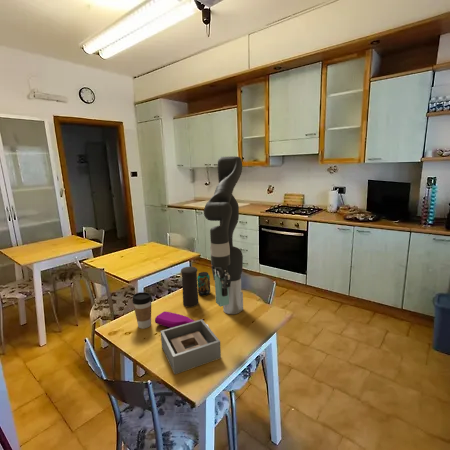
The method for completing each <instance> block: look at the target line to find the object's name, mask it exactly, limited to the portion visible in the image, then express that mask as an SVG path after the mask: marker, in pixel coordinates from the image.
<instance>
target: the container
mask: <svg viewBox="0 0 450 450" xmlns="http://www.w3.org/2000/svg"><path fill="white" fill-rule="evenodd" d="M180 274H181V284H182V286H181V287H182V304H183V306H184V307H186V308H193V307H196V306H198V305H199V302H200V301H199V293H198V280H197V277H198V268H197V267H196V266H185V267H183V268H181V269H180Z"/></svg>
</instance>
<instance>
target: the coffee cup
mask: <svg viewBox="0 0 450 450" xmlns="http://www.w3.org/2000/svg"><path fill="white" fill-rule="evenodd" d="M132 304H133V309H134V314H135V318H136V322H137V327H138V328H139V329H142V330H143V329H147V328H149V327H150V326H151V325H152V295H151V293H149V292H145V291H143V292H136V293H134V294H133V295H132Z"/></svg>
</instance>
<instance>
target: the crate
mask: <svg viewBox="0 0 450 450" xmlns="http://www.w3.org/2000/svg"><path fill="white" fill-rule="evenodd" d="M206 324H207V323H206V322H205V321H204V319H203V318H201V319H197V320H194V322H190V323H187V324H183V325H180V326H176V327H173V328H170V327H168V328H167V329H163V330H160V340H161V347H162V350H163V352H164V355H165V356H166V357H165V358H166V359H167V360H168V363H169V365H170V368H171V370H172V372H173V374H174V375H177V374H178V375H179V374H181V373H182V372H186V371H188V370H191V369H194V368H197V367H200V366H202V365H205V364H208V363H210V362H213V361H216V360H219V359H222V353H221V351H222V350H221V340H220V339H219V338H218V336H217V335H216V334H215V333H214V332H213V330H212V329H211V328H210V327H208V326H209V325H208V326H207V325H206ZM197 331H199V332H200V334H201V335H202V336H203V338H204V339H205V340H206V342H207V343H208V344H205V345H202V346H199V347H196V348H193V349H190V350H187V351H184V352H181V353H178V354H175V353H174V351H173V349H172V347H171V341H170V339H173V338H177V337H180V336H183V335H187V334H190V333H193V332H197ZM193 346H195V344H192V345H189V346H186V347H184V348H185V349H187V348H190V347H193Z"/></svg>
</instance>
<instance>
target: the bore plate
mask: <svg viewBox="0 0 450 450" xmlns="http://www.w3.org/2000/svg"><path fill="white" fill-rule="evenodd" d="M170 341H171V347H172V349H173V351H174V353H175V354H178V353H181V352H184V351H187V350H190V349H193V348H196V347H199V346H202V345H205V344H208V343H207V342H206V340H205V339H204V338H203V336H202V335H201V334H200V332H199V331H197V332H193V333H190V334H187V335H183V336H180V337H177V338H173V339H170ZM192 344H195V346H193V347H190V348H187V349H185V348H184V347H186V346H189V345H192Z"/></svg>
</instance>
